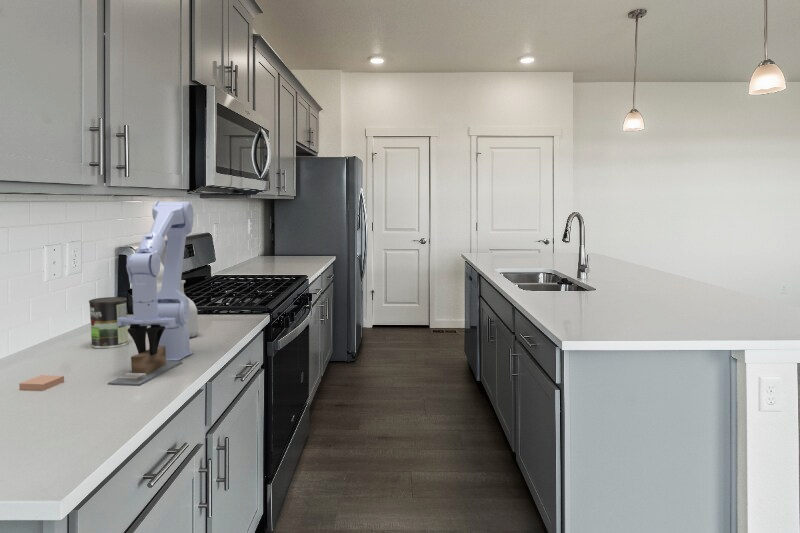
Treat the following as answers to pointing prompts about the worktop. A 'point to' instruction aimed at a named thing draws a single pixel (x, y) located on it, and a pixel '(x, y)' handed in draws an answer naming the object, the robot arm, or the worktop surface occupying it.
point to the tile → (41, 382)
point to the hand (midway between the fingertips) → (147, 354)
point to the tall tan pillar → (144, 365)
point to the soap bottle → (191, 315)
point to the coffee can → (108, 322)
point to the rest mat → (150, 374)
